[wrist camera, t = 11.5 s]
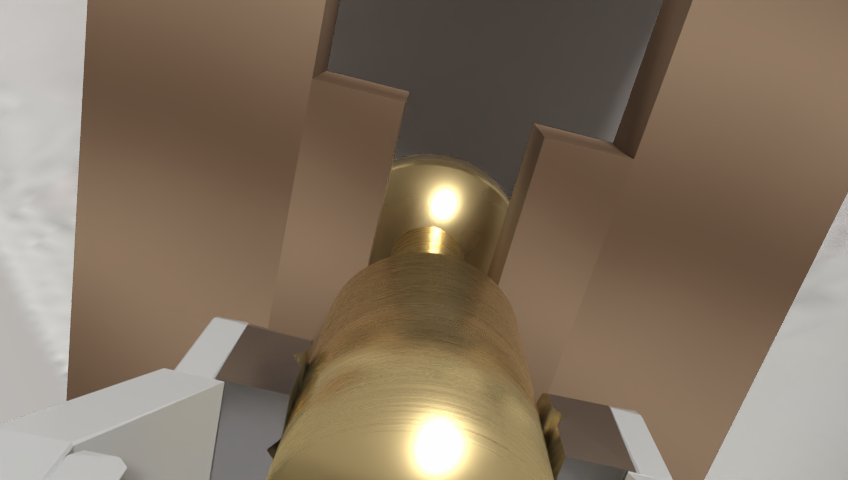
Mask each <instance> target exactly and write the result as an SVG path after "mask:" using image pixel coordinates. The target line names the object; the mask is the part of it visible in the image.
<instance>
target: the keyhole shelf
mask: <svg viewBox="0 0 848 480" xmlns="http://www.w3.org/2000/svg"><path fill="white" fill-rule="evenodd" d="M339 1H340V0H88V3H87V22H86V41H85V60H84V79H83V98H82V117H81V136H80V155H79V175H78V194H77V213H76V232H75V251H74V270H73V289H72V308H71V327H70V346H69V365H68V384H67V401H69V400H72V399H75V398H78V397H80V396H83V395H86V394H89V393H92V392H95V391H98V390H101V389H104V388H107V387H110V386H113V385H116V384H119V383H122V382H125V381H128V380H131V379H133V378H136V377H139V376H142V375H145V374H148V373H151V372H154V371H157V370H160V369H163V368H166V369H170V370H174V369H175V368H176V367H177V365H178V364H179V363H180V361H181V360H182V359H183V357H184V356H185V355H186V353H187V352H188V351H189V349H190V348H191V347H192V345H193V344H194V343H195V341H196V340H197V339H198V337H199V336H200V335H201V333H202V332H203V331H204V329H205V328H206V327H207V325H208V324H209V323H210V321H211V320H212V319H213V318H215V317H218V316H219V317H223V318H228V319H233V320H238V321H243V322H247V323H249V325H250V324H253V325H257V326H261V327H265V328H269V329H273V330H278V331H282V332H286V333H290V334H294V335H298V336H302V337H306V338H310V339H314V340H313V348H312V353H311V358H312V355H313V353H314V350H315V347H316V345H317V342H318V339H319V337H320V334H321V331H322V329H323V326H324V323H325V321H326V318H327V315H328V313H329V310H330V308H331V306H332V304H333V301H334V299H335V298H336V296H337V295H338V293H339V292H340V290H341V289H342V288H343V287H344V285H345V284H346V283H347V282H348V281H349V280H350V279H351V278H352V277H353V276H355V275H356V274H357V273H358V272H360V271H361V270H363V269H364V268H366V267H367V266H369V264H370V260H371V255H372V251H373V247H374V242H375V238H376V234H377V229H378V225H379V221H380V217H381V212H382V208H383V204H384V199H385V195H386V191H387V186H388V182H389V178H390V173H391V169H392V165H393V160H394V156H395V152H396V147H397V143H398V139H399V134H400V130H401V126H402V122H403V117H404V113H405V109H406V104H407V100H408V96H409V91H405V90H401V89H397V88H393V87H389V86H385V85H381V84H377V83H373V82H370V81H366V80H362V79H358V78H354V77H350V76H346V75H342V74H338V73H334V72H330V71H327V66H328V61H329V55H330V50H331V45H332V39H333V34H334V28H335V23H336V17H337V12H338V7H339ZM847 193H848V0H664V1H663V4H662V7H661V9H660V12H659V15H658V18H657V21H656V24H655V26H654V29H653V32H652V35H651V38H650V41H649V43H648V46H647V49H646V52H645V55H644V58H643V60H642V63H641V66H640V69H639V72H638V75H637V77H636V80H635V83H634V86H633V89H632V92H631V94H630V97H629V100H628V103H627V106H626V108H625V111H624V114H623V117H622V120H621V123H620V125H619V128H618V131H617V134H616V137H615V140H614V142H613V143H611V142H607V141H603V140H599V139H595V138H591V137H587V136H584V135H580V134H576V133H572V132H568V131H564V130H560V129H556V128H552V127H548V126H544V125H540V124H536V123H533V127H532V130H531V133H530V136H529V140H528V143H527V146H526V150H525V153H524V156H523V159H522V163H521V166H520V169H519V172H518V176H517V179H516V182H515V186H514V189H513V192H512V195H511V199H510V202H509V205H508V209H507V212H506V215H505V218H504V222H503V225H502V228H501V231H500V235H499V238H498V241H497V245H496V248H495V251H494V254H493V258H492V261H491V264H490V268H489V271H488V274H487V276H488V277H490V278H491V279H492V280H493V281H494V282H495V283H496V284H497V285H498V286H499V287H500V289H501V290H502V291H503V293H504V294H505V296H506V297H507V298H508V300H509V302H510V304H511V306H512V308H513V310H514V313H515V316H516V319H517V323H518V327H519V331H520V336H521V340H522V344H523V349H524V353H525V357H526V361H527V366H528V370H529V374H530V379H531V383H532V387H533V391H534V396H535V400H536V403H537V401H538V399H539V398H540V396H541V394H542V393H547V394H552V395H557V396H562V397H567V398H572V399H577V400H582V401H587V402H592V403H597V404H602V405H607V406H612V407H617V408H622V409H628V410H633V411H636V412H637V413H639V414H640V415H641V416H642V418H643V420H644V422H645V424H646V426H647V428H648V430H649V432H650V434H651V436H652V438H653V440H654V442H655V444H656V446H657V448H658V450H659V452H660V454H661V456H662V458H663V460H664V463H665V465H666V467H667V469H668V471H669V473H670V475H671V477H672V479H673V480H704V479H705V477H706V475H707V473H708V471H709V469H710V467H711V465H712V463H713V461H714V459H715V457H716V455H717V453H718V451H719V449H720V447H721V445H722V443H723V441H724V439H725V437H726V435H727V433H728V431H729V429H730V427H731V425H732V423H733V421H734V419H735V417H736V415H737V413H738V411H739V409H740V407H741V405H742V403H743V401H744V399H745V397H746V395H747V393H748V391H749V389H750V387H751V385H752V383H753V381H754V379H755V377H756V375H757V373H758V371H759V369H760V367H761V365H762V363H763V361H764V359H765V357H766V355H767V353H768V351H769V349H770V347H771V345H772V343H773V341H774V339H775V337H776V335H777V333H778V331H779V329H780V327H781V325H782V323H783V321H784V319H785V317H786V315H787V313H788V311H789V309H790V307H791V305H792V303H793V301H794V299H795V297H796V295H797V293H798V291H799V289H800V287H801V285H802V283H803V281H804V279H805V277H806V275H807V273H808V271H809V269H810V267H811V265H812V263H813V261H814V259H815V257H816V255H817V253H818V251H819V249H820V247H821V245H822V243H823V241H824V239H825V237H826V235H827V233H828V231H829V229H830V227H831V225H832V223H833V221H834V219H835V217H836V215H837V213H838V211H839V209H840V207H841V205H842V203H843V201H844V199H845V197H846V195H847ZM310 361H311V359H310Z"/></svg>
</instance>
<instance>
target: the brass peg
mask: <svg viewBox="0 0 848 480" xmlns="http://www.w3.org/2000/svg"><path fill="white" fill-rule="evenodd" d="M509 202H510V200H509V198H508V197H507V195H506V194H505V192H504V191H503V190H502V188H501V187H500V186H499V185H498V184H497V183H496V182H495V181H494V180H493V179H492V178H491V177H490V176H489V175H487V174H486V173H485V172H484V171H482V170H480V169H479V168H477V167H476V166H474V165H472V164H470V163H468V162H466V161H463V160H460V159H457V158H454V157H451V156H445V155H440V154H417V155H410V156H405V157H401V158H398V159H395V160H393V165H392V169H391V173H390V178H389V182H388V186H387V191H386V195H385V199H384V204H383V208H382V212H381V217H380V221H379V225H378V229H377V234H376V238H375V242H374V247H373V251H372V255H371V260H370V264H369V266H367V267H366V268H364V269H363V270H361V271H360V272H358V273H357V274H356V275H355V276H353V277H352V278H351V279H350V280H349V281H348V282H347V283H346V284H345V285H344V287H343V288H342V289H341V290H340V292H339V293H338V295H337V296H336V298H335V299H334V301H333V304H332V306H331V308H330V310H329V313H328V315H327V318H326V321H325V323H324V326H323V329H322V331H321V334H320V337H319V339H318V342H317V345H316V347H315V350H314V353H313V355H312V358H311V361H310V364H309V367H308V369H307V372H306V375H305V377H304V380H303V383H302V386H301V388H300V390H299V392H298V395H297V398H296V400H295V403H294V407H293V409H292V412H291V415H290V417H289V420H288V423H287V425H286V428H285V430H284V433H283V436H282V438H281V440H280V443H279V445H278V448H277V451H276V453H275V456H274V459H273V461H272V464H271V467H270V469H269V472H268V475H267V477H266V480H554V477H553V473H552V469H551V464H550V460H549V456H548V451H547V447H546V443H545V439H544V434H543V430H542V426H541V421H540V417H539V413H538V409H537V404H536V400H535V396H534V391H533V387H532V383H531V379H530V374H529V370H528V366H527V361H526V357H525V353H524V349H523V344H522V340H521V336H520V331H519V327H518V323H517V319H516V316H515V313H514V310H513V308H512V306H511V304H510V302H509V300H508V298H507V297H506V296H505V294H504V293H503V291H502V290H501V289H500V287H499V286H498V285H497V284H496V283H495V282H494V281H493V280H492V279H491V278H490V277H488V276H487V274H488V271H489V268H490V264H491V261H492V258H493V254H494V251H495V248H496V245H497V241H498V238H499V235H500V231H501V228H502V225H503V222H504V218H505V215H506V212H507V209H508V205H509Z"/></svg>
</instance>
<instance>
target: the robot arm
mask: <svg viewBox="0 0 848 480" xmlns="http://www.w3.org/2000/svg"><path fill="white" fill-rule="evenodd" d="M313 340H314V339H310V338H306V337H302V336H298V335H294V334H290V333H286V332H282V331H278V330H273V329H269V328H265V327H261V326H257V325H253V324H250V325H249V323H247V322H243V321H238V320H233V319H228V318H223V317H219V316H218V317H215V318H213V319H212V320H211V321H210V323H209V324H208V325H207V327H206V328H205V329H204V331H203V332H202V333H201V335H200V336H199V337H198V339H197V340H196V341H195V343H194V344H193V345H192V347H191V348H190V349H189V351H188V352H187V353H186V355H185V356H184V357H183V359H182V360H181V361H180V363H179V364H178V365H177V367H176V368H175V369H174V370H170V369H166V368H163V369H160V370H157V371H154V372H151V373H148V374H145V375H142V376H139V377H136V378H133V379H131V380H128V381H125V382H122V383H119V384H116V385H113V386H110V387H107V388H104V389H101V390H98V391H95V392H92V393H89V394H86V395H83V396H80V397H78V398H75V399H72V400H69V401H66V402H63V403H60V404H57V405H54V406H51V407H48V408H45V409H42V410H39V411H37V412H33V413H30V414H28V415H25V416H22V417H19V418H16V419H13V420H10V421H7V422H4V423H1V424H0V480H266V477H267V475H268V472H269V469H270V467H271V464H272V461H273V459H274V456H275V453H276V451H277V448H278V445H279V443H280V440H281V438H282V436H283V433H284V430H285V428H286V425H287V423H288V420H289V417H290V415H291V412H292V409H293V407H294V403H295V400H296V398H297V395H298V392H299V390H300V388H301V386H302V383H303V380H304V377H305V375H306V372H307V369H308V367H309V364H310V359H311V353H312V348H313ZM536 404H537V409H538V413H539V417H540V421H541V426H542V430H543V434H544V439H545V443H546V447H547V451H548V456H549V460H550V464H551V469H552V473H553V477H554V480H673V479H672V477H671V475H670V473H669V471H668V469H667V467H666V465H665V463H664V460H663V458H662V456H661V454H660V452H659V450H658V448H657V446H656V444H655V442H654V440H653V438H652V436H651V434H650V432H649V430H648V428H647V426H646V424H645V422H644V420H643V418H642V416H641V415H640V414H639V413H637V412H636V411H633V410H628V409H622V408H617V407H612V406H607V405H602V404H597V403H592V402H587V401H582V400H577V399H572V398H567V397H562V396H557V395H552V394H547V393H542V394H541V396H540V398H539V399H538V401H537V403H536Z"/></svg>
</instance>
